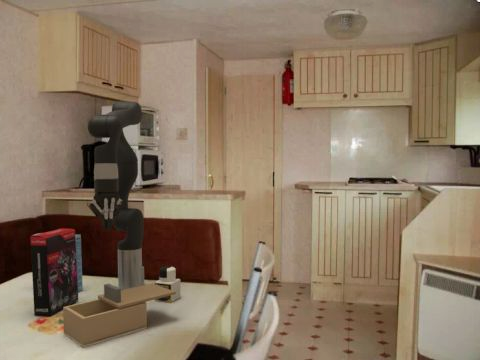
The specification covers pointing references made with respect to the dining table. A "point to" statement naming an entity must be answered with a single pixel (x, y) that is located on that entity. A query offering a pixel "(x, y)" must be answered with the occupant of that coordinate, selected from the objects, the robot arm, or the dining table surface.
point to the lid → (133, 294)
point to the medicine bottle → (169, 283)
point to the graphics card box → (54, 271)
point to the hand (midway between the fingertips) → (107, 230)
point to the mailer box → (102, 321)
